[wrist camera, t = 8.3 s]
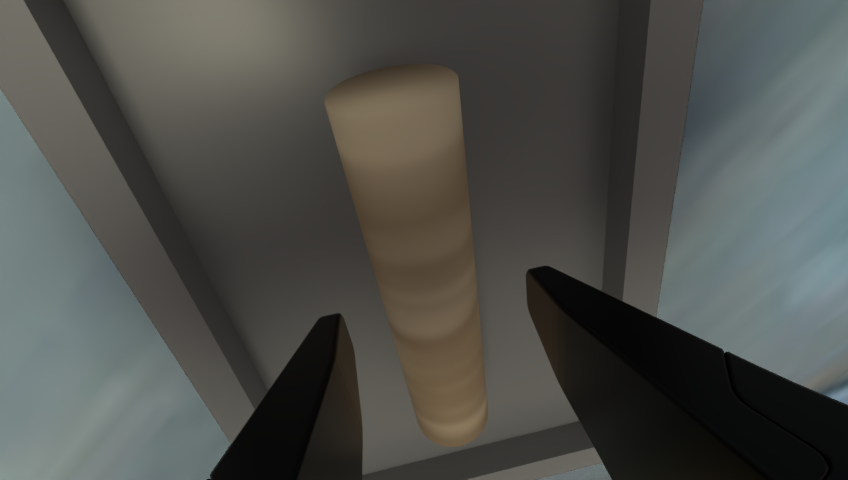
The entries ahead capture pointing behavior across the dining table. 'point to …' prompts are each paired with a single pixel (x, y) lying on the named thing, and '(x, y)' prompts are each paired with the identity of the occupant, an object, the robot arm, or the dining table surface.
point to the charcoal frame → (329, 191)
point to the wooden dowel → (418, 234)
